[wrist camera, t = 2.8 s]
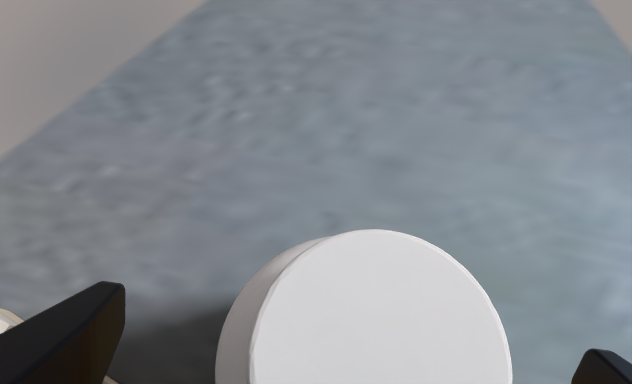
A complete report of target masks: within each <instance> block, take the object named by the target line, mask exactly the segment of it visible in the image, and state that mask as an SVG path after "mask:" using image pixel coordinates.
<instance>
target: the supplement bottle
mask: <svg viewBox="0 0 632 384" xmlns="http://www.w3.org/2000/svg"><path fill="white" fill-rule="evenodd" d="M215 384H512V365H511V358H510V352H509V346H508V342H507V338H506V335H505V331H504V328H503V326H502V323H501V321H500V318H499V316H498V314H497V312H496V310H495V308H494V306H493V305H492V303H491V301H490V299H489V297H488V295H487V294H486V293H485V291H484V290H483V288H482V287H481V286H480V284H479V283H478V282H477V281H476V280H475V278H474V277H473V276H472V275H471V274H470V273H469V272H468V271H467V269H466V268H465V267H463V266H462V265H461V264H460V263H459V262H457V261H456V260H455V259H454V258H453V257H451V256H450V255H449V254H447V253H446V252H444V251H443V250H441V249H440V248H438V247H436V246H434V245H432V244H430V243H428V242H426V241H424V240H422V239H420V238H418V237H414V236H411V235H407V234H404V233H400V232H395V231H388V230H377V229H369V230H356V231H351V232H345V233H342V234H339V235H335V236H330V237H324V238H318V239H315V240H311V241H307V242H304V243H302V244H299V245H296V246H294V247H292V248H290V249H288V250H286V251H284V252H283V253H281V254H279V255H277V256H276V257H275V258H273V259H272V260H270V261H269V262H268V263H267V264H265V265H264V266H263V267H262V268H261V269H260V270H259V271H258V272H257V273H255V274H254V276H253V277H252V278H251V279H250V280H249V281H248V282H247V284H246V285H245V286H244V287H243V289H242V291H241V292H240V294H239V295H238V297H237V298H236V300H235V301H234V303H233V305H232V307H231V309H230V311H229V313H228V315H227V318H226V320H225V323H224V325H223V328H222V332H221V335H220V339H219V343H218V349H217V355H216V365H215Z"/></svg>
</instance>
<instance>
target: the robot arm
mask: <svg viewBox="0 0 632 384" xmlns="http://www.w3.org/2000/svg"><path fill="white" fill-rule="evenodd" d="M124 325H125V287H124V286H123V285H122V284H121V283H114V282H107V281H101V282H98V283H96V284H94V285H92V286H91V287H89V288H87V289H85V290H83V291H81V292H79V293H77V294H75V295H73V296H71V297H70V298H68V299H66V300H64V301H62V302H60V303H58V304H56V305H54V306H52V307H50V308H49V309H47V310H45V311H43V312H41V313H39V314H37V315H35V316H33V317H31V318H29V319H28V320H26V321H24V322H22V323H20V324H18V325H16V326H14V327H12V328H10V329H8V330H6V331H5V332H3V333H1V334H0V384H102V383H103V380H104V378H105V375H106V373H107V370H108V368H109V365H110V363H111V360H112V358H113V355H114V353H115V350H116V348H117V345H118V343H119V340H120V338H121V335H122V332H123V329H124ZM571 384H632V364H631V363H629V362H628V361H626V360H625V359H623V358H622V357H620V356H619V355H617V354H616V353H614V352H612V351H608V350H601V349H589V350H588V351H586V352H585V354H584V356H583V358H582V360H581V362H580V364H579V366H578V368H577V370H576V372H575V374H574V376H573V378H572V382H571Z"/></svg>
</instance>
